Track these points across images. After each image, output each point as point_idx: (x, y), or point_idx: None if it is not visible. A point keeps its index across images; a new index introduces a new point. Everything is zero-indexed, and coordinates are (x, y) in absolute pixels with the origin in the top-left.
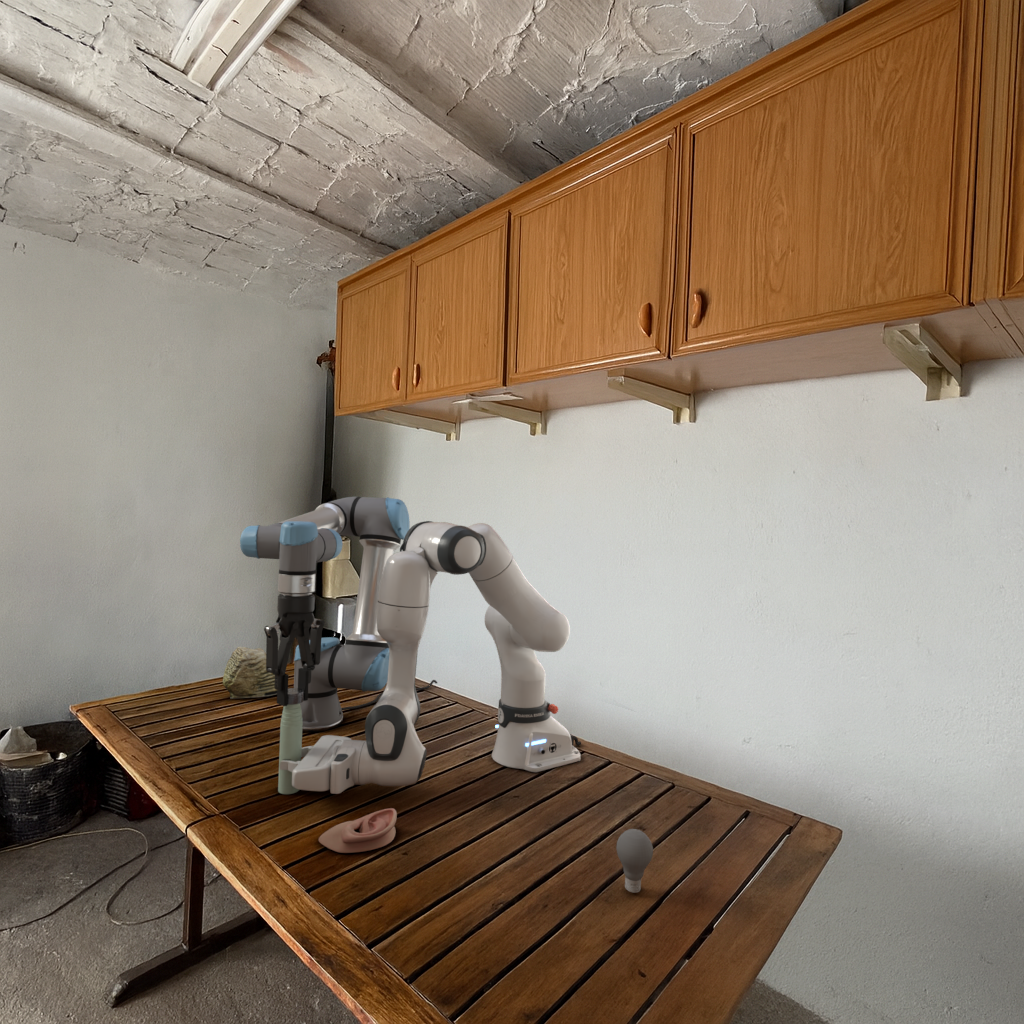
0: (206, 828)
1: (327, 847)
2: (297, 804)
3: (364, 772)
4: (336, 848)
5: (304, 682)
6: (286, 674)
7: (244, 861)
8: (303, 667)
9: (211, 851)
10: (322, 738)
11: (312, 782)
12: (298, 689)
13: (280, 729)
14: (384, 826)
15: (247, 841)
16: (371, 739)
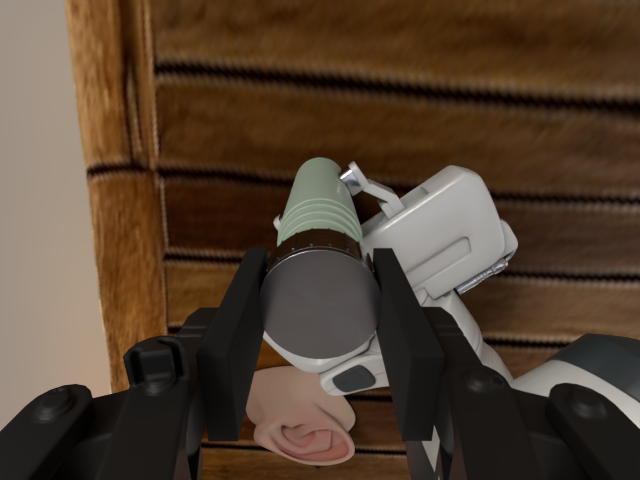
0: (114, 209)
1: None
2: None
3: None
4: (248, 415)
5: (385, 363)
6: (230, 426)
7: (133, 343)
8: (442, 390)
9: (98, 285)
10: (447, 198)
11: None
12: (361, 306)
13: (283, 215)
14: (319, 450)
15: (159, 299)
16: (410, 470)
